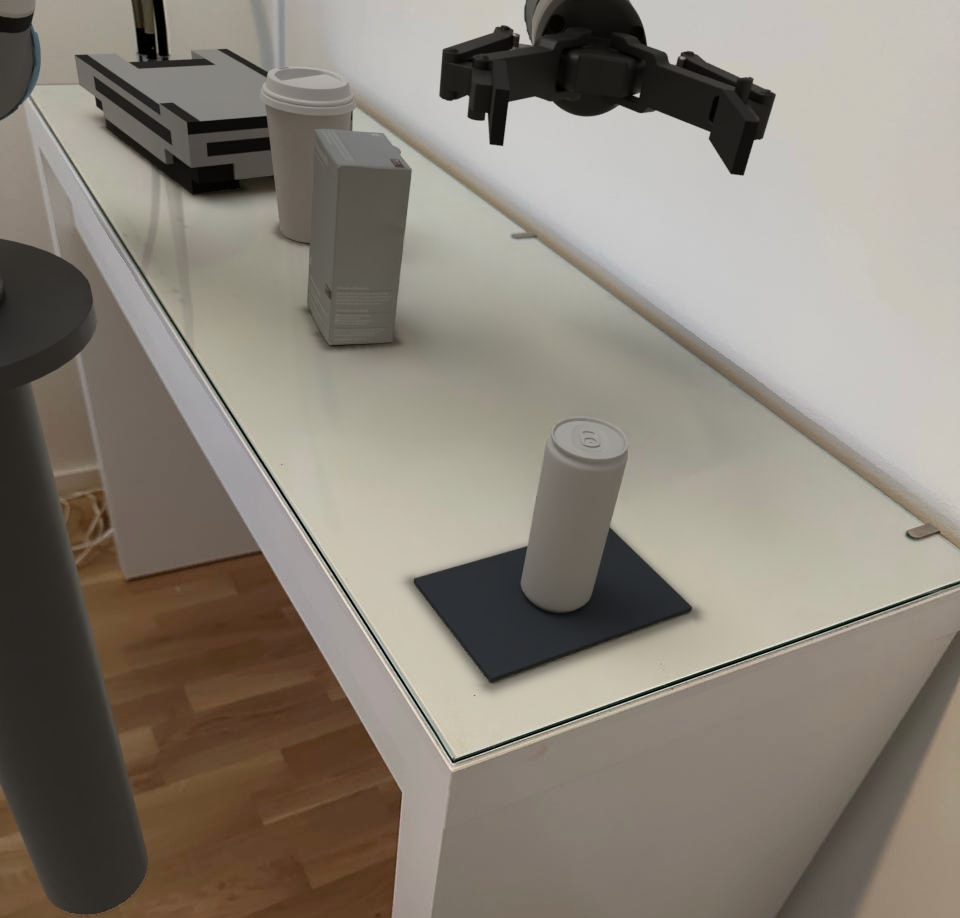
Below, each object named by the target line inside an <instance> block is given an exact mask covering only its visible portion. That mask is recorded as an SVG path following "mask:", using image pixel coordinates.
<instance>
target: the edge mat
mask: <svg viewBox="0 0 960 918" xmlns="http://www.w3.org/2000/svg"><path fill="white" fill-rule="evenodd" d="M527 547H528V545H525V546H522V547H520V548H516V549H512V550H508V551H505V552H502V553H498V554H494V555H490V556H487V557H483V558H480V559H477V560H474V561H471V562H466V563H462V564H460V565H456V566H452V567H450V568H446V569H442V570H439V571H435V572H432V573H429V574H425V575H420V576H418V577H414V578H413V584H414V586H415V587H416V588H417V589H418V591H419V593H421V595H422V596H423V597H424V598H425V600H426V601H427V603H428V604H429V605H430V606H431V607H432V609H433V610H434V611H435V613H436V614H437V615H438V617H439V618H440V619H441V620H442V622H443V624H444V625H445V626H446V627H447V628H448V630H449V631H450V632H451V634H452V635H453V637H454V638H455V639H456V640H457V642H458V643H459V644H460V646H461V647H462V648H463V649H464V651H465V652H466V653H467V654H468V656H469V657H470V658H471V660H472V661H473V662H474V663H475V665H476V666H477V667H478V668H479V670H480V671H481V673H482V674H483V675H484V676H485V678H486V680H487V681H488V682H489V683H490V684H491V683H494V682H496V681H500V680H502V679H505V678H508V677H511V676H514V675H516V674H520V673H522V672H526V671H528V670H530V669H534V668H536V667H539V666H542V665H544V664H547V663H550V662H553V661H556V660H558V659H561V658H565V657H567V656H570V655H573V654H576V653H578V652H580V651H584V650H587V649H590V648H593V647H595V646H598V645H601V644H603V643H606V642H609V641H612V640H614V639H615V640H616V639H617V638H621V637H623V636H626V635H628V634H632V633H635V632H636V631H637V632H638V631H639V630H642V629H645V628H648V627H651V626H654V625H657V624H659V623H662V622H665V621H668V620H670V619H674V618H676V617H678V616H681V615H685V614H688V613H690V612H692V609H693V606H692V605H691V604H690V603H689V602H687V600H686V599H685V598H684V597H682V596H681V594H680V593H678V592H677V591H676V590H675V588H673V587H672V585H670V583H668V582H667V581H666V580H665V579H664V578H663V577H662V576H661V575H660V574H659V573H658V572H656V570H654V568H652V566H651V565H650V564H648V562H646V561H645V560H644V558H642V557H641V556H640V554H638V553H637V552H636V551H635V550H634V549H633V548H632V547H631V546H630V545H629V544H628V543H627V542H626V541H625V540H624V539H623V538H622V537H621V536H619V534H617V533H616V532H615V531H614V530H613V529H612V528H611V526H610V527H609V531H608V535H607V539H606V543H605V546H604V550H603V554H602V558H601V561H600V565H599V569H598V573H597V577H596V580H595V584H594V588H593V592H592V595H591V597H590V599H589V601H588V602H587V603H586V604H585V605H584V606H582V607H580V608H578V609H576V610H574V611H570V612H566V613H556V612H549V611H546V610H543V609H541V608H539V607H537V606H536V605H534V604H533V603H532V602H531V601H530V600H529V599H528V598H527V597H526V595H525V594H524V592H523V591H522V587H521V579H522V573H523V568H524V563H525V558H526V552H527Z"/></svg>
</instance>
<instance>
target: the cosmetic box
mask: <svg viewBox="0 0 960 918" xmlns="http://www.w3.org/2000/svg"><path fill="white" fill-rule="evenodd" d="M401 154H402V150H401V149H400V148H399V147H397V146H395V145H393V144H392V142H391V141H390V139H389V138H388V136H387V135H386V134H385V133H384V132H374V131H373V132H372V131H360V130H359V131H358V130H352V131H347V130H337V129H316V130H315V144H314V167H313V189H312V211H311V232H310V243H309V253H308V255H309V256H308V273H307V274H308V279H307V295H306V297H307V298H306V304H307V308H308V309H309V311H310V314H311V316H312V318H313V321H314V322H315V324H316V326H317V327H318V329H319V332H320V333H321V335H322V337H323V338H324V340H325V341H326V343H327V344H328V346H339V345H340V346H341V345H358V344H359V345H362V344H367V345H368V344H385V343H393V342H394V333H395V325H396V315H397V305H398V298H399V288H400V279H401V270H402V260H403V253H404V242H405V234H406V226H407V218H408V207H409V199H410V192H411V182H412V174H413V169H412V167H411V166H409V164H408V163H407V161H406V160H405V159H404V158H403V157H402V155H401Z"/></svg>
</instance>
